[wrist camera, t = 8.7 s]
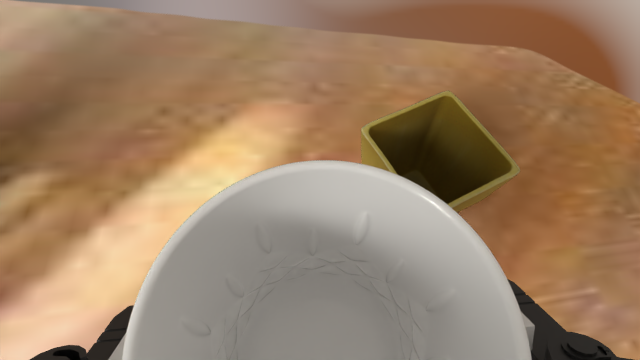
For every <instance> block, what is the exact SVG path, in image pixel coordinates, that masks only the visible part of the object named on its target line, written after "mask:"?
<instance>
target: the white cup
mask: <svg viewBox="0 0 640 360" xmlns="http://www.w3.org/2000/svg"><path fill="white" fill-rule="evenodd" d="M122 360H532V357H531V350H530V345H529V340H528V335H527V331H526V327H525V323H524V320H523V317H522V314H521V311H520V308H519V305H518V302H517V300H516V297H515V295H514V293H513V290H512V288H511V286H510V284H509V282H508V280H507V278H506V276H505V274H504V272H503V270H502V269H501V267H500V265H499V263H498V262H497V260H496V259H495V257H494V255H493V254H492V252H491V251H490V250H489V248H488V247H487V245H486V244H485V243H484V241H483V240H482V239H481V238H480V236H479V235H478V234H477V233H476V232H475V231H474V229H473V228H472V227H471V226H470V225H469V224H468V223H467V222H466V221H465V220H464V219H463V218H462V217H461V216H460V215H459V214H458V213H457V212H456V211H454V210H453V209H452V208H451V207H450V206H449V205H447V204H446V203H445V202H444V201H442V200H441V199H440V198H438V197H437V196H435V195H434V194H432V193H431V192H429V191H428V190H426V189H425V188H423V187H421V186H419V185H418V184H416V183H414V182H412V181H410V180H408V179H406V178H404V177H401V176H399V175H397V174H394V173H392V172H389V171H386V170H383V169H380V168H376V167H373V166H369V165H365V164H360V163H354V162H347V161H335V160H315V161H303V162H296V163H290V164H285V165H281V166H277V167H273V168H270V169H267V170H264V171H261V172H258V173H256V174H253V175H251V176H249V177H246V178H244V179H242V180H240V181H238V182H236V183H234V184H233V185H231V186H229V187H227V188H226V189H224V190H223V191H221V192H219V193H218V194H216V195H215V196H214V197H212V198H211V199H210V200H208V201H207V202H206V203H204V204H203V205H202V206H201V207H200V208H198V209H197V210H196V211H195V212H194V213H193V214H192V215H191V216H190V217H189V218H188V219H187V220H186V221H185V222H184V223H183V224H182V225H181V226H180V227H179V228H178V230H177V231H176V232H175V233H174V234H173V235H172V237H171V238H170V239H169V241H168V242H167V243H166V245H165V246H164V247H163V249H162V250H161V252H160V253H159V255H158V256H157V258H156V260H155V261H154V263H153V265H152V266H151V268H150V270H149V272H148V274H147V276H146V278H145V280H144V282H143V284H142V286H141V289H140V291H139V294H138V296H137V299H136V301H135V304H134V307H133V310H132V313H131V317H130V320H129V324H128V328H127V332H126V337H125V342H124V347H123V354H122Z"/></svg>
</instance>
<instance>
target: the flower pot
mask: <svg viewBox="0 0 640 360" xmlns="http://www.w3.org/2000/svg"><path fill="white" fill-rule="evenodd" d="M361 159H362V164H365V165H369V166H373V167H376V168H380V169H383V170H386V171H389V172H392V173H394V174H397V175H399V176H401V177H404V178H406V179H408V180H410V181H412V182H414V183H416V184H418V185H419V186H421V187H423V188H425V189H426V190H428V191H429V192H431V193H432V194H434V195H435V196H437V197H438V198H440V199H441V200H442V201H444V202H445V203H446V204H447V205H449V206H450V207H451V208H452V209H453V210H454V211H456V212H459V211H461V210H463V209H465V208H467V207H469V206H471V205H473V204H475V203H477V202H479V201H481V200H483V199H484V198H486V197H487V196H489V195H490V194H491V193H493V192H494V191H495V190H497V189H498V188H499V187H501V186H502V185H504V184H505V183H506V182H508V181H509V180H510V179H512V178H513V177H514V176H516V175H517V174H518V173H519V172H520V168H519V167H518V165H517V164H516V163H515V161H514V160H513V159H512V158H511V157H510V155H509V154H508V153H507V152H506V151H505V150H504V148H503V147H502V146H501V145H500V144H499V143H498V142H497V141H496V140H495V139H494V138H493V136H492V135H491V134H490V133H489V132H488V131H487V130H486V129H485V128H484V127H483V125H482V124H481V123H480V122H479V121H478V120H477V119H476V118H475V117H474V115H473V114H472V113H471V112H470V111H469V110H468V109H467V108H466V106H465V105H464V104H463V103H462V102H461V101H460V100H459V99H458V98H457V97H456V96H455V95H454V94H453V93H451V92H450V91H444V92H441V93H439V94H436V95H434V96H432V97H430V98H427V99H425V100H423V101H420V102H418V103H416V104H414V105H411V106H409V107H407V108H404V109H402V110H399V111H397V112H395V113H392V114H390V115H387V116H385V117H382V118H380V119H377V120H375V121H373V122H370V123H368V124H367V125H365V126H364V127H362V129H361Z"/></svg>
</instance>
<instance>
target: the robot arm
mask: <svg viewBox="0 0 640 360" xmlns="http://www.w3.org/2000/svg"><path fill="white" fill-rule="evenodd" d="M507 280H508V279H507ZM508 282H509V284H510V286H511V288H512V290H513V293H514V295H515V297H516V300H517V302H518V305H519V308H520V311H521V314H522V317H523V320H524V323H525V327H526V331H527V335H528V340H529V345H530V350H531V357H532V360H633V359H626V358H619V357H616V356H615V354H614V353H613V352H612V351H611V350H610V349H609V348H608V347H606V346H605V345H603V344H602V343H601V342H599V341H597V340H595V339H593V338H590V337H588V336H586V335H582V334H578V333H574V332H567V331H566V330H564V329H563V328H562V327H561V326H560V325H559V324H558V323H557V322H556V321H555V320H554V319H553V318H552V317H551V316H549V315H548V314H547V313H546V312H545V311H544V310H543V309H542V308H541V307H540V306H539V305H538V304H535V301H533V300H532V299H531V298H530V297H529V296H528V295H526V294H525V292H524V291H523V290H522V289H521V288H520V287H518V286H517V285H516V284H515V283H514V282H512V281H510V280H508ZM133 307H134V306H129V307H127V308H126V309H125V310H123V311H122V312H121V313H119V314H118V315H117V316H115V317H114V318H113V320H112V321H111V322H110V324H109V325H108V326H107V328H106V329H105V332H103V333H102V334H101V336H100V337H99V338H98V340H97V343H95V344H94V345H93V346H92V348H91V349H90V350H89V352H88V353H86V349H84V348H82V347H80V346H75V345H67V346H62V347H57V348H53V349H51V350H48V351H46V352H43V353H40V354H39V355H37V356H35V357H34V358H32V359H30V360H122V354H123V347H124V342H125V337H126V332H127V328H128V324H129V320H130V317H131V313H132V310H133Z"/></svg>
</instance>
